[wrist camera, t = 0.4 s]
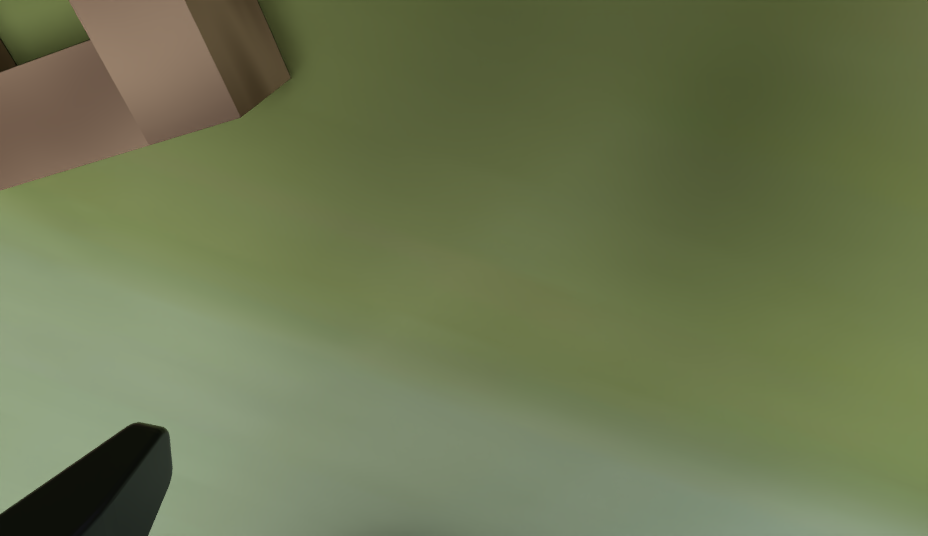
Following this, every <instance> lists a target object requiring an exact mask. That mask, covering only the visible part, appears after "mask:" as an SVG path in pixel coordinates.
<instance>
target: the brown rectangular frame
mask: <svg viewBox="0 0 928 536" xmlns="http://www.w3.org/2000/svg"><path fill="white" fill-rule="evenodd" d="M69 2H70V4H71V5H72V7H73V9H74V11H75V13H76V15H77V16H78V18H79V20H80V22H81V24H82V25H83V27H84V29H85V31H86V33H87V34H88V36H89V38H90V40H87V41H84V42H82V43H79V44H76V45H73V46H71V47H68V48H65V49H62V50H59V51H57V52H54V53H51V54H48V55H46V56H43V57H40V58H37V59H35V60H32V61H29V62H26V63H23V64H21V65H18V66H16V64H15V62H14V61H13V59H12V58H11V56H10V54H9V53H8V51H7V49H6V48H5V46H4V45H3V43H2V41H1V40H0V190H3V189H7V188H10V187H13V186H17V185H20V184H23V183H27V182H30V181H33V180H36V179H40V178H43V177H46V176H50V175H53V174H56V173H59V172H63V171H66V170H69V169H73V168H76V167H79V166H83V165H86V164H89V163H92V162H96V161H99V160H102V159H106V158H109V157H112V156H115V155H119V154H122V153H125V152H129V151H132V150H135V149H139V148H142V147H145V146H148V145H152V144H155V143H158V142H162V141H165V140H168V139H172V138H175V137H178V136H181V135H185V134H188V133H191V132H195V131H198V130H201V129H204V128H208V127H211V126H214V125H218V124H221V123H224V122H228V121H231V120H234V119H237V118H241V117H242V116H243V115H245V114H246V113H247V112H248V111H250V110H251V109H252V108H254V107H255V106H256V105H257V104H259V103H260V102H261V101H262V100H264V99H265V98H266V97H268V96H269V95H270V94H271V93H273V92H274V91H275V90H276V89H278V88H279V87H280V86H282V85H283V84H284V83H285V82H287V81H288V80H289V79H290V78H291V77H290V75H289V73H288V70H287V68H286V66H285V63H284V61H283V59H282V56H281V54H280V52H279V50H278V47H277V45H276V43H275V40H274V38H273V36H272V33H271V31H270V29H269V26H268V24H267V22H266V20H265V17H264V15H263V13H262V10H261V8H260V6H259V3H258V1H257V0H69Z"/></svg>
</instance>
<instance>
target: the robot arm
mask: <svg viewBox="0 0 928 536" xmlns="http://www.w3.org/2000/svg"><path fill="white" fill-rule="evenodd" d="M171 476H172V457H171V447H170V437H169V432H168V431H167V429H166V428H164V427H161V426H156V425H151V424H146V423H141V422H137V423H133V424H131V425H129V426H127V427H126V428H124V429H123V430H121V431H120V432H118V433H117V434H116V435H114V436H113V437H111V438H110V439H108V440H107V441H105V442H104V443H102V444H101V445H100V446H98V447H97V448H95V449H94V450H92V451H91V452H89V453H88V454H87V455H85V456H84V457H82V458H81V459H79V460H78V461H76V462H75V463H74V464H72V465H71V466H69V467H68V468H66V469H65V470H63V471H62V472H60V473H59V474H58V475H56V476H55V477H53V478H52V479H50V480H49V481H47V482H46V483H45V484H43V485H42V486H40V487H39V488H37V489H36V490H34V491H33V492H32V493H30V494H29V495H27V496H26V497H24V498H23V499H21V500H20V501H19V502H17V503H16V504H14V505H13V506H11V507H10V508H8V509H7V510H5V511H4V512H3V513H1V514H0V536H148V534H149V532H150V530H151V527H152V525H153V523H154V520H155V518H156V515H157V513H158V511H159V508H160V506H161V503H162V501H163V499H164V496H165V494H166V491H167V489H168V487H169V484H170V480H171Z"/></svg>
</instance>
